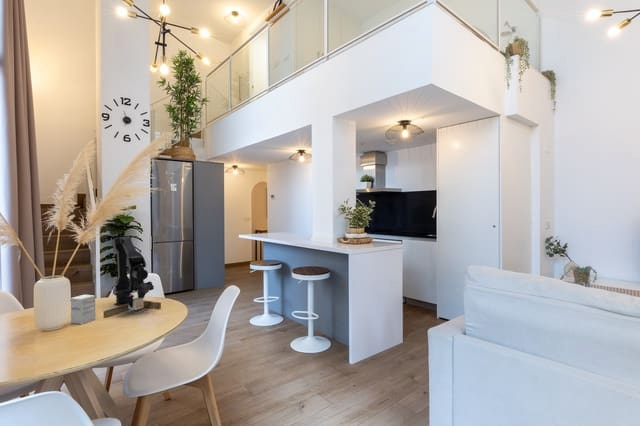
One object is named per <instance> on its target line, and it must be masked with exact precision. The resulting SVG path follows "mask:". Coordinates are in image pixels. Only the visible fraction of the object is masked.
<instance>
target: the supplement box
mask: <svg viewBox="0 0 640 426" xmlns="http://www.w3.org/2000/svg"><path fill="white" fill-rule="evenodd" d="M95 320H96V295H95V294H94V295H93V294H80V295H77V296H74V297H71V298H70V324H78V325H84V324H87V323H89V322H92V321H95Z"/></svg>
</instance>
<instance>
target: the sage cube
mask: <svg viewBox="0 0 640 426" xmlns="http://www.w3.org/2000/svg"><path fill="white" fill-rule="evenodd" d="M143 300H144V298H138V297H135V298H134V297H133V307H132V308H131V307H130V305H129V309H131V310H137V309H140V308H141V309H144V307H143Z"/></svg>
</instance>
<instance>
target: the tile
mask: <svg viewBox="0 0 640 426" xmlns="http://www.w3.org/2000/svg"><path fill="white" fill-rule="evenodd" d="M148 310H149V308H148V309H147V308H140V309H137V310H128V311H125V312H123V313H124V314H128V313H129V315H137V313H138V314H141V313H143V312H146V311H148ZM140 312H141V313H140Z"/></svg>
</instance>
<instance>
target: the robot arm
mask: <svg viewBox="0 0 640 426" xmlns="http://www.w3.org/2000/svg"><path fill="white" fill-rule="evenodd" d="M111 243H112V247H113V250H114V251H115V253H116V259H117V260H116V261H117V279H116V280H115V283H114V287H113V289H112V294H113V295H114V296H115V297H116V299H115V300H116V301H115V303H113V305H115V306H122V305H125V304H129V305H130V307H131V308H132V307H133V299H134V297H135V295H134V293H137V298H143V299H144V298H145V296H146V295H147V294H148V293H149V292H150V291H152V290H154V289H155V288H154V287H155V286H154V285H153V282H152V281H147V282H145V280H146V279H147V278H148V277H149V272H148V271H147V270H146V269H145V268H147V263H146V262H147V261H146V260H145V258H144V256H143V255H142V253H141V252H139V251H137V250H136V248H135V245H134V244H133V242H132V237H130V236H121V237H115V238H114V239H112V242H111ZM128 269H129V270H128ZM128 271H129V276H128Z"/></svg>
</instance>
